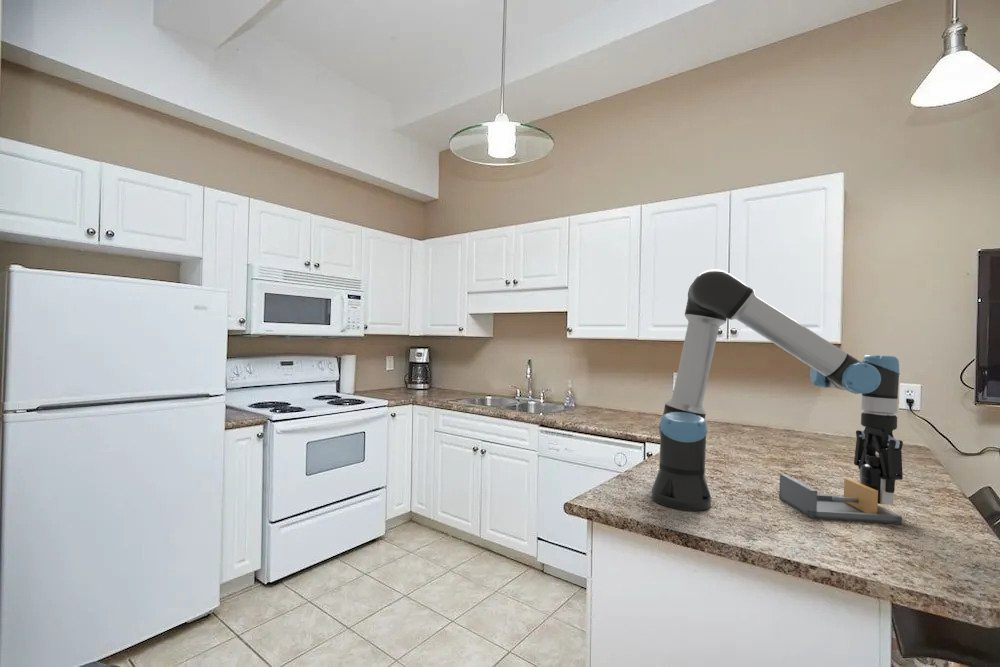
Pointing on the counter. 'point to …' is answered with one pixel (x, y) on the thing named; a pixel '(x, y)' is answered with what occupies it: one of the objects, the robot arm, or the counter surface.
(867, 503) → the pusher
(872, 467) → the supplement bottle
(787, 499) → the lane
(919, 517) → the counter surface
